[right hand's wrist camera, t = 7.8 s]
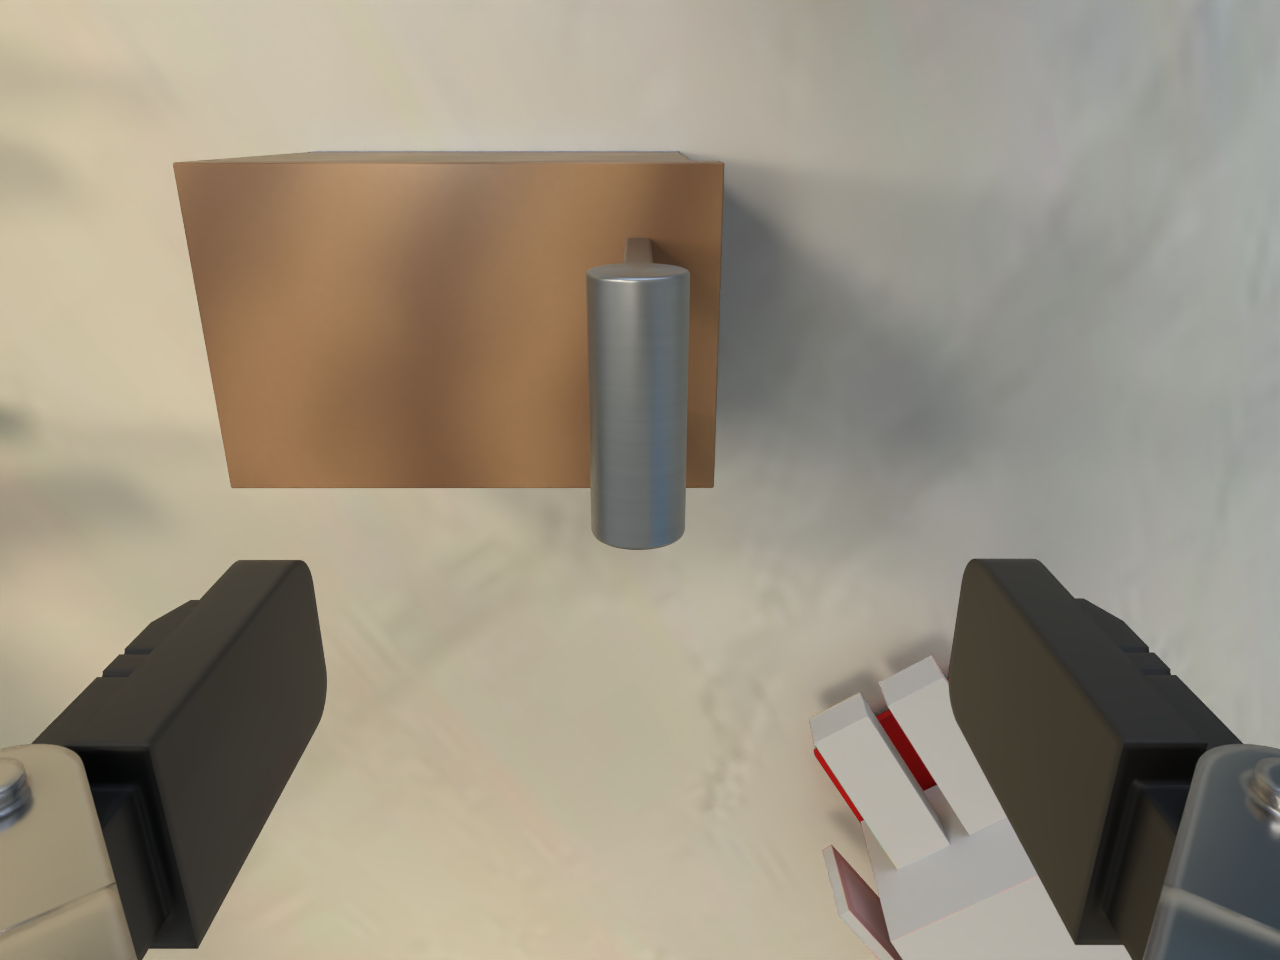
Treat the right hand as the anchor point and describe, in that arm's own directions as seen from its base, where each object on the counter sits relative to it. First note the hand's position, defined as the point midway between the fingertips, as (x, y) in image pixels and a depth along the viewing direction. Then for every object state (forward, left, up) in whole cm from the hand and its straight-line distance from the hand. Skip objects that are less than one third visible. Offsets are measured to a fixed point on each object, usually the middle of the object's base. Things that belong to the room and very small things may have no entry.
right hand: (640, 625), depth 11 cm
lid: (-5, 0, -17) cm, 18 cm away
